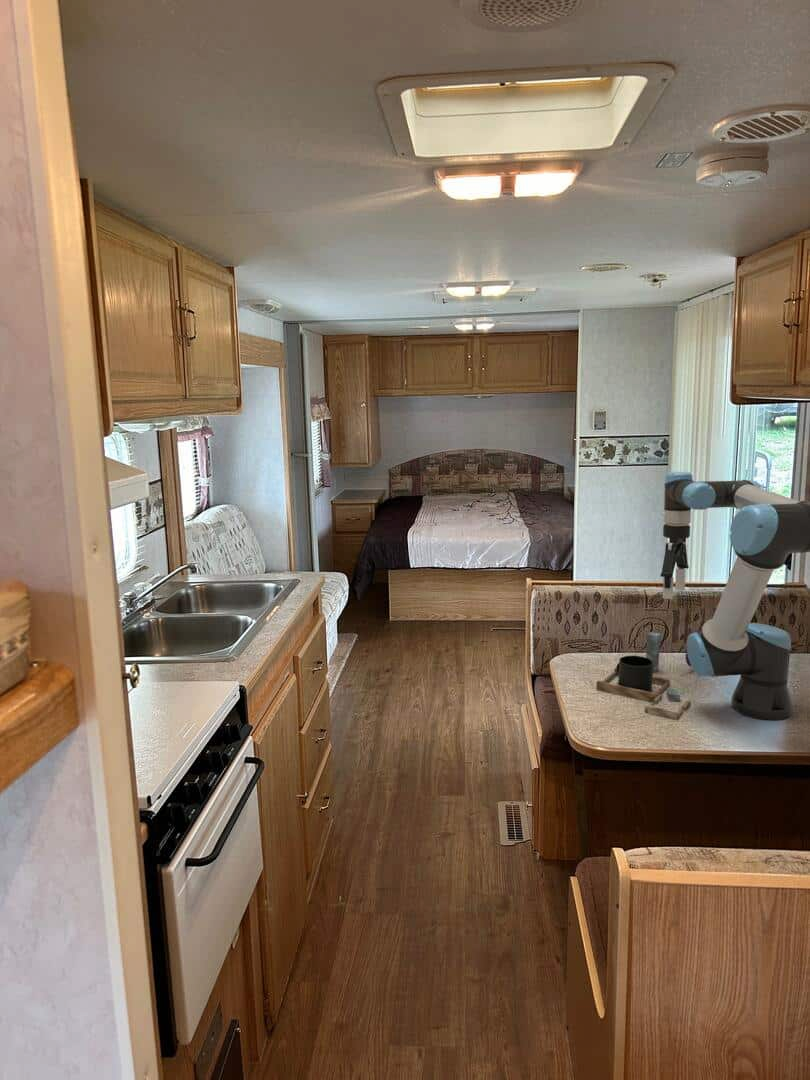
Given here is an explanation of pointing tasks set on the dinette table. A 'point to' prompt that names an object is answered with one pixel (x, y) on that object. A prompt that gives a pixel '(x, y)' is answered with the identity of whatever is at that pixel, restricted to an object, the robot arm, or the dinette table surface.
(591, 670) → the dinette table surface
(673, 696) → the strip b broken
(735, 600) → the robot arm
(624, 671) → the mug
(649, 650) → the wooden frame with post
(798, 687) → the dinette table surface
